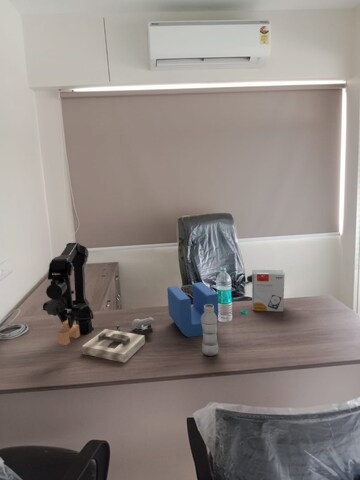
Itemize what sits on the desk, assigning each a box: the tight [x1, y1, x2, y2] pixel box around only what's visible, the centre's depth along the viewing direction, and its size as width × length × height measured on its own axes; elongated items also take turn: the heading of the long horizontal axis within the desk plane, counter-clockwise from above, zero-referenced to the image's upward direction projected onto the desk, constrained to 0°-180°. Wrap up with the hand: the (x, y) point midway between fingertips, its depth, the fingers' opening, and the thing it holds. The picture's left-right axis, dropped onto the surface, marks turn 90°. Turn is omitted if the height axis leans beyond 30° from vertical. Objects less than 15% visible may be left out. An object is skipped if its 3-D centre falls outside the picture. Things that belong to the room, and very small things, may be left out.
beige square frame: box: [81, 328, 146, 363], centre depth 140 cm, size 20×16×5 cm
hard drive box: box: [251, 269, 285, 313], centre depth 172 cm, size 16×8×20 cm, turn 81°
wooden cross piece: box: [56, 319, 81, 346], centre depth 134 cm, size 4×8×8 cm, turn 157°
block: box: [167, 281, 219, 338], centre depth 155 cm, size 18×18×18 cm
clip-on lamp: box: [116, 316, 155, 336], centre depth 153 cm, size 12×6×18 cm
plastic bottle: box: [201, 304, 220, 357], centre depth 131 cm, size 6×7×20 cm
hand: (68, 327), depth 134 cm, fingers closed on wooden cross piece, 2 cm apart
